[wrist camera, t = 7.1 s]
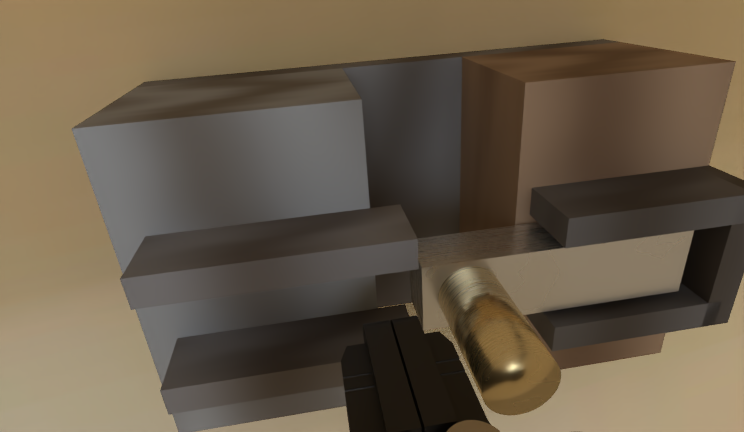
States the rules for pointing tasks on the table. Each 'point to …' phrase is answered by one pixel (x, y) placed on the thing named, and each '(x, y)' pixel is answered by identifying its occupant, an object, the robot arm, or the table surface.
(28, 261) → the table surface
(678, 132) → the door and jamb
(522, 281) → the bolt
